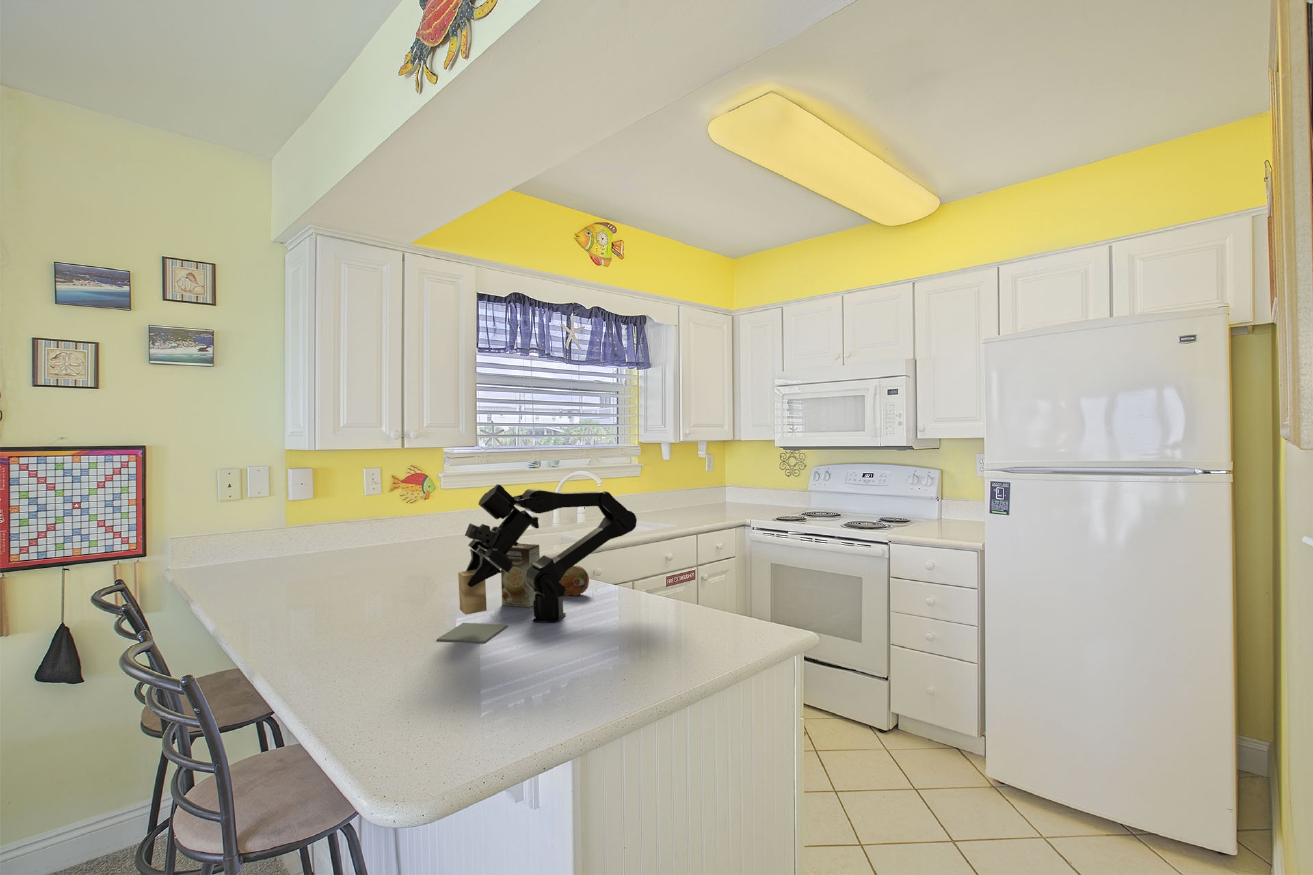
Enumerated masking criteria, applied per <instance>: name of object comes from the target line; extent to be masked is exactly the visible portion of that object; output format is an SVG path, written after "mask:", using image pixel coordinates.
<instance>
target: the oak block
mask: <svg viewBox="0 0 1313 875" xmlns="http://www.w3.org/2000/svg"><path fill="white" fill-rule="evenodd" d="M476 570H477V569H476ZM476 570H469V571H466V570H464V571H458V573H457V574H458V575H457V576H458V577H457V578H458V595H459V596H458V597H459V598H458V599H459V610H460V611H461V612H462V613H463V614H464V615H466V616H468V615H472V614H476V613H481V612H487V611H488V609H487V590H486V580H484V581H482V582H480V583H478V584H476V585H474V586H473V587H470V586H468V582H469V581H470V579H471V577H472V576H473V574H474V573H475V571H476Z"/></svg>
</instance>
